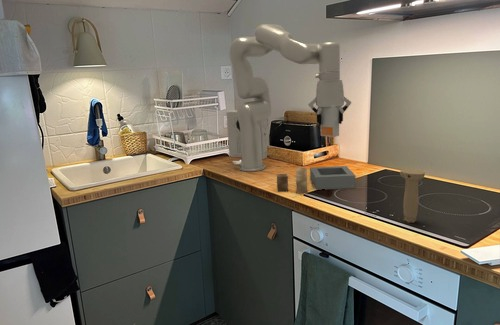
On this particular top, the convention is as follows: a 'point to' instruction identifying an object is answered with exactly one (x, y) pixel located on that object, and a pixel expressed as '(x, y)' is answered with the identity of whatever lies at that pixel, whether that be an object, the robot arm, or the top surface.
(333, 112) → the skincare box
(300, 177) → the grey brown upright block
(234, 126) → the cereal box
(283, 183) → the short walnut dowel
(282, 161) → the top surface
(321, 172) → the socket block
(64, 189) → the top surface
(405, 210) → the handle
